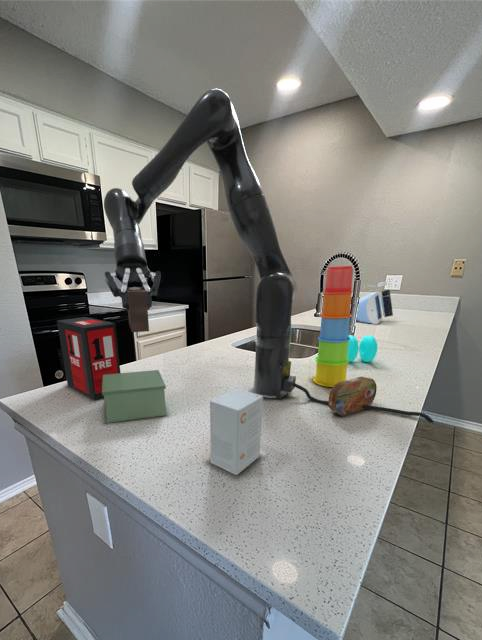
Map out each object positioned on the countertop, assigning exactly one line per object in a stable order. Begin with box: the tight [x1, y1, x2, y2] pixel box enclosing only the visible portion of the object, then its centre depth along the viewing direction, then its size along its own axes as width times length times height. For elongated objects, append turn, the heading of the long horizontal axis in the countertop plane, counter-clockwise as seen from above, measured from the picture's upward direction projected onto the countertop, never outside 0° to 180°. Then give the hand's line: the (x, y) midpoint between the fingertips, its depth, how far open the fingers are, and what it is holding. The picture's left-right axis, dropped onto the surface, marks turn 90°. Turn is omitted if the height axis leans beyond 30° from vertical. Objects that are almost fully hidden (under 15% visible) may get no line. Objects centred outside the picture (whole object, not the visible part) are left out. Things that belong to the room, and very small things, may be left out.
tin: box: [328, 376, 378, 417], centre depth 81 cm, size 15×3×8 cm, turn 117°
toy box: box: [102, 369, 167, 424], centre depth 82 cm, size 15×13×8 cm
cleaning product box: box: [56, 316, 121, 401], centre depth 93 cm, size 16×9×20 cm, turn 47°
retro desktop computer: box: [355, 281, 394, 325], centre depth 200 cm, size 25×23×17 cm
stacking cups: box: [312, 265, 354, 388], centre depth 95 cm, size 10×10×35 cm
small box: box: [209, 388, 264, 476], centre depth 60 cm, size 8×6×13 cm
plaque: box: [126, 287, 150, 333], centre depth 77 cm, size 10×4×9 cm, turn 16°
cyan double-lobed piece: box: [347, 334, 378, 363], centre depth 121 cm, size 10×10×10 cm
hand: (138, 307), depth 75 cm, fingers closed on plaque, 4 cm apart
